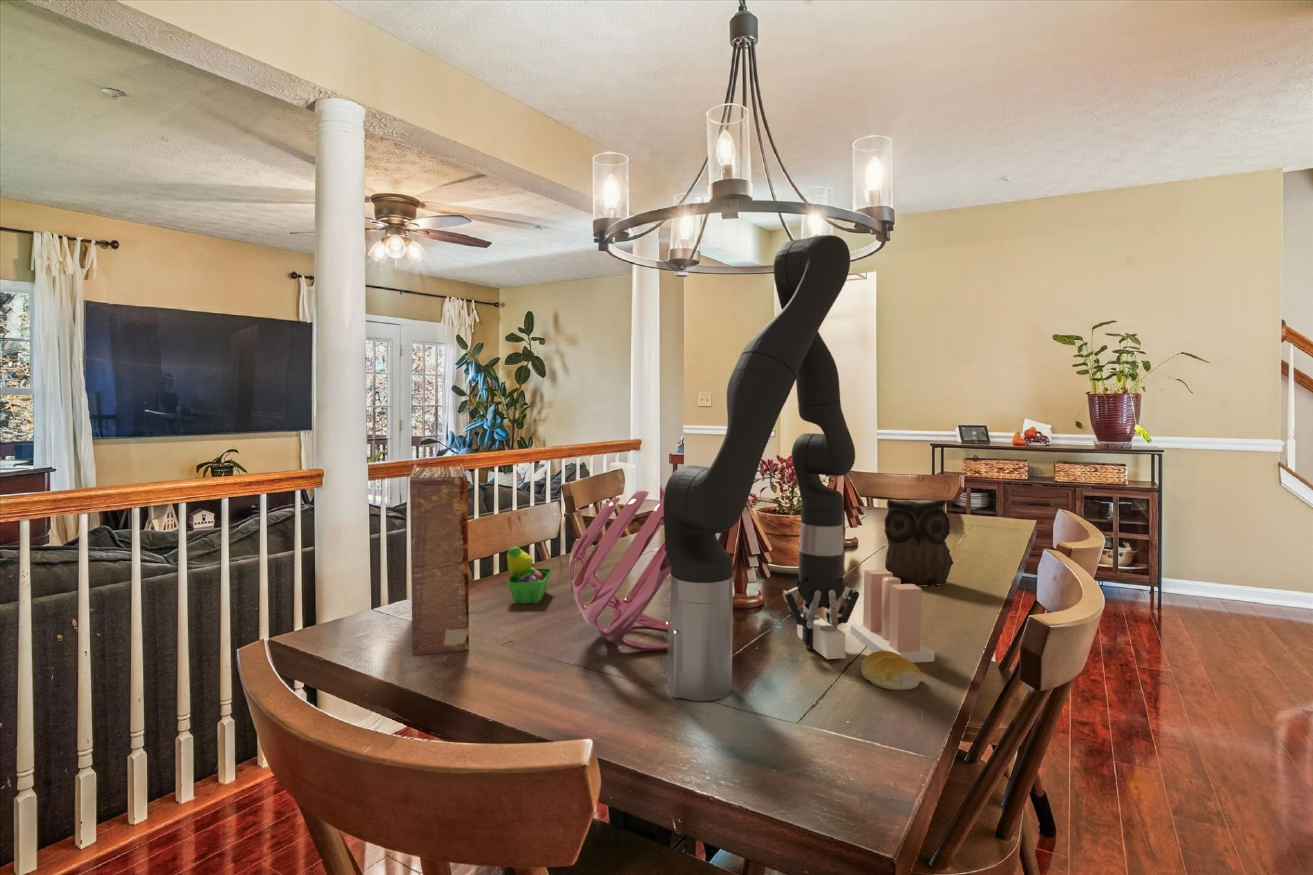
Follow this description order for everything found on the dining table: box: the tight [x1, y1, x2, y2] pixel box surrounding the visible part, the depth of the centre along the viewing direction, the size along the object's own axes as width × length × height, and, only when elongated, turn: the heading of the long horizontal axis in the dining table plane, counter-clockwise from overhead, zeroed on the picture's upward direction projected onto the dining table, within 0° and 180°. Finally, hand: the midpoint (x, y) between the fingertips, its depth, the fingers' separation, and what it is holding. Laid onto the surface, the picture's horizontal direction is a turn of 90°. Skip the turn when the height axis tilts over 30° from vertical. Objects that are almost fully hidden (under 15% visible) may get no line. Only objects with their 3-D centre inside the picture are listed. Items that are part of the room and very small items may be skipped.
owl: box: [884, 498, 954, 587], centre depth 162 cm, size 13×13×20 cm
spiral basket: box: [568, 490, 671, 652], centre depth 123 cm, size 28×28×27 cm
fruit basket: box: [506, 546, 552, 605], centre depth 148 cm, size 11×9×11 cm
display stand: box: [849, 568, 935, 664], centre depth 120 cm, size 15×8×12 cm, turn 8°
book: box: [409, 463, 470, 656], centre depth 127 cm, size 25×9×30 cm, turn 18°
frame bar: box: [796, 613, 847, 660], centre depth 119 cm, size 14×3×4 cm, turn 8°
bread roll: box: [860, 651, 923, 691], centre depth 106 cm, size 8×9×4 cm
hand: (819, 646), depth 119 cm, fingers closed on frame bar, 3 cm apart
